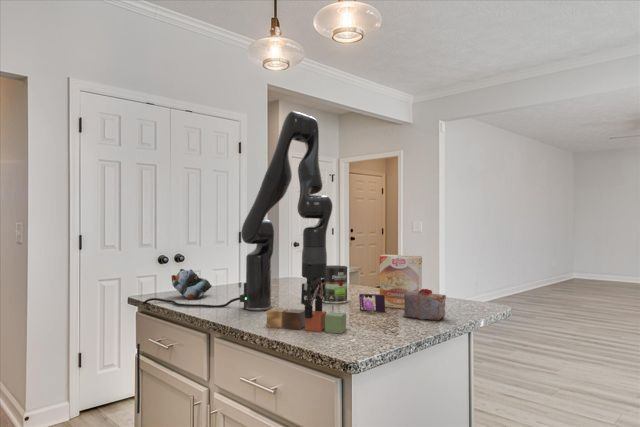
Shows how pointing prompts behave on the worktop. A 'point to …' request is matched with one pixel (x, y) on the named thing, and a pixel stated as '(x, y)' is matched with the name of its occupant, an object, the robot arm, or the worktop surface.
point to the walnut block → (295, 319)
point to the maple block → (276, 317)
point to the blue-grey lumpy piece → (190, 284)
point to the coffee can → (336, 285)
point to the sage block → (335, 322)
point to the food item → (424, 305)
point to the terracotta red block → (316, 321)
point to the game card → (368, 304)
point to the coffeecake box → (399, 278)
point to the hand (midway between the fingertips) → (313, 315)
